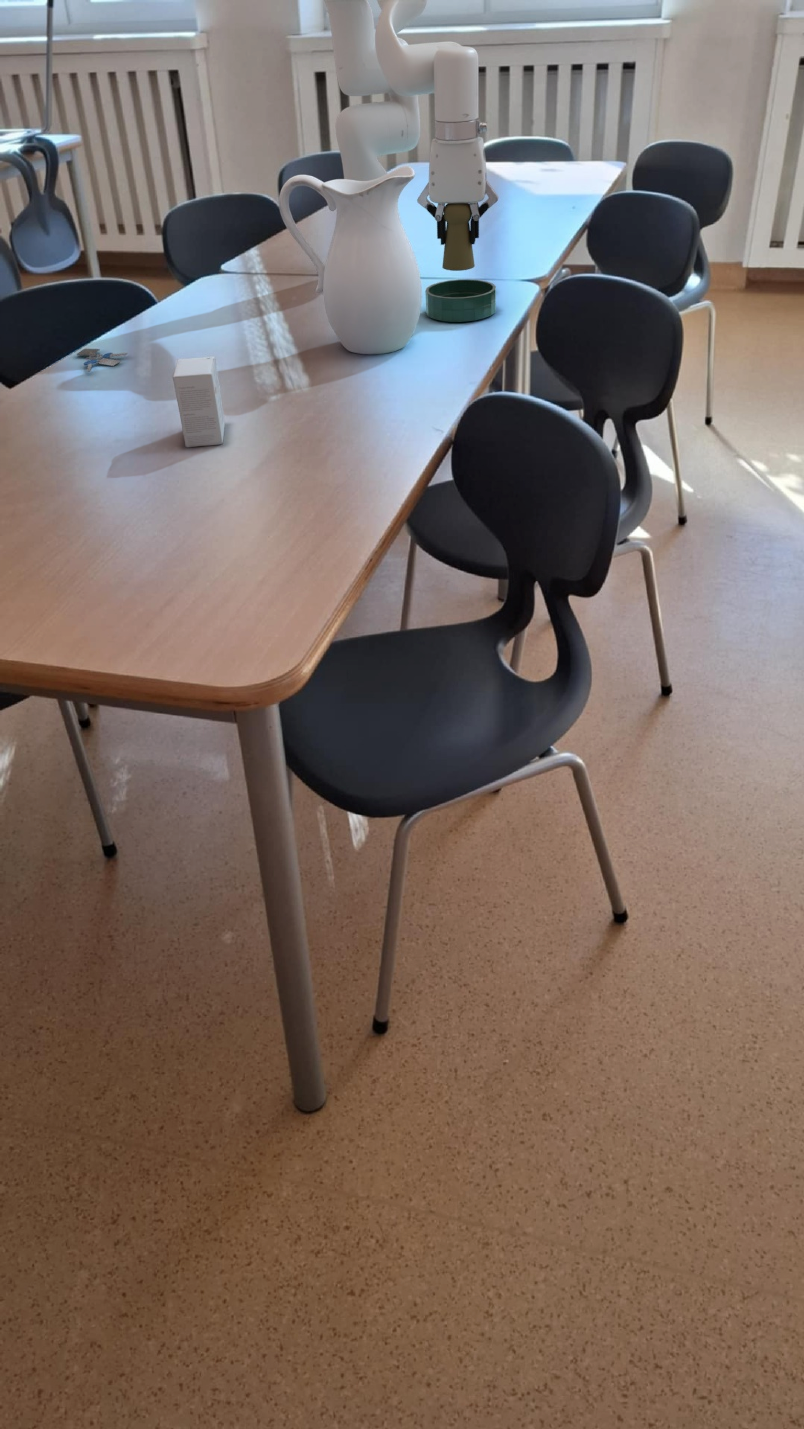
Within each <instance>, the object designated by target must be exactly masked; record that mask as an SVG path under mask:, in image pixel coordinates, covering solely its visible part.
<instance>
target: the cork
mask: <svg viewBox="0 0 804 1429" xmlns="http://www.w3.org/2000/svg"><path fill="white" fill-rule="evenodd" d="M443 215H444V219H445V221H446V236H445V244H444V245H443V246H444V247H443V257H442V269H443V270H446V271H450V272H458V271H459V272H463V271H467V270H472V269H474V268H475V266H476V264H475V257H474V251H473V250H474V249H473V244H471V243H470V221H471V218H472V212H471V208H470V204H469V203H445V207H444V212H443Z"/></svg>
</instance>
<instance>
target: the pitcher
mask: <svg viewBox="0 0 804 1429" xmlns="http://www.w3.org/2000/svg"><path fill="white" fill-rule="evenodd" d="M415 177H416V171H415V170H414V168H413V167H411V166H409V165H403V166H400V167H398V168H395V169H394V170H391V171H390V172H387V174H386V175H384V176H382V177H380V178H377V179H374V180H370V181H355V180H347V179H344V178H336V179H331V180H328V181H325V182H324V181H322V180H321V179H319V178H317V177H315V176H312V175H309V174H297V175H293V176H292V177H290V178H289V179H287V180H286V181H285V183H284V184H283V186H282V187H281V190H280V191H279V196H278V207H279V213H280V216H281V219H282V221H283V223H284V225H285V227H286V229H287V230H288V232H289V234H291V236H292V237H293V239H294V240H295V241H296V243H297V244H298V245H299V246H300V248H302V250H303V251H304V252H305V254H306V255H307V257H308V258H309V259H310V261H311V262H312V264H313V266H314V267H315V269H316V272H317V276H318V279H317V284H316V288H315V291H314V292H315V293H316V294H319V293H323V302H324V303H323V304H324V309H325V313H326V317H327V319H328V322H329V324H330V326H331V329H332V331H333V332H334V334H335V336H336V337H337V339H338V340H339V342H340V343H341V345H342V346H343V348H344V349H346V350H347V351H348V352H350V353H354V354H359V355H360V354H361V355H383V354H389V353H393V352H396V351H399V350H401V349H403V348H405V347H406V346H407V345H408V343H409V342H410V341H411V338H412V337H413V334H414V332H415V331H416V327H417V326H418V323H419V319H420V316H421V315H420V314H421V310H422V302H423V300H422V298H423V288H422V287H423V286H422V279H421V274H420V268H419V264H418V262H417V259H416V255H415V252H414V250H413V248H412V245H411V243H410V240H409V236H408V235H407V233H406V230H405V228H404V226H403V223H402V220H401V217H400V212H399V198H400V196H401V193H402V192H403V190H404V189H405V188H406V186H407V185H408V184H409V183H410V182H411V181H412V180H413V179H414V178H415ZM297 187H309V189H313V190H314V191H316V192H317V193H318V194H319V195H320V196H322V197H323V199H324V200H325V201H326V204H327V207H328V210H329V211H330V212H334V211H336V218H335V226H334V229H333V233H332V237H331V239H330V240H331V241H330V243H329V248H328V252H327V254H326V259H325V263H324V262H323V261H322V259H321V258H320V257H319V255H318V254H317V253H316V251H315V249H314V248H313V247H312V246H311V244H310V243H309V242H308V241H307V239H306V238H305V236H304V235H303V233H302V232H301V230H300V229H299V227H298V226H297V224H296V222H295V220H294V218H293V215H292V212H291V209H290V197H291V193H292V192H293V191H294V189H296V188H297Z"/></svg>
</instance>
